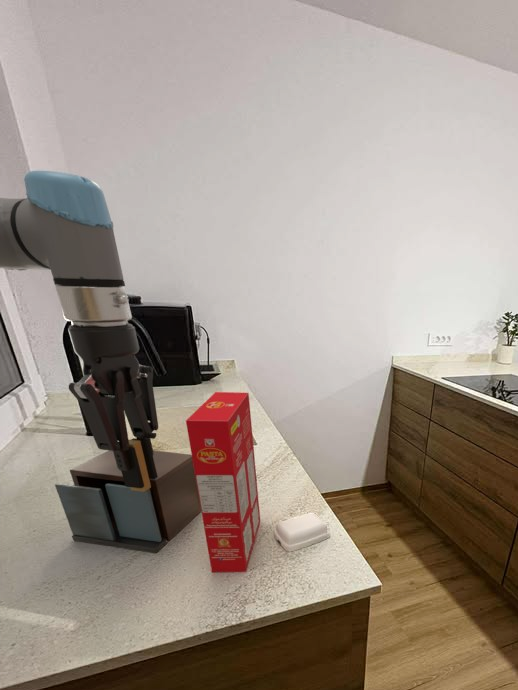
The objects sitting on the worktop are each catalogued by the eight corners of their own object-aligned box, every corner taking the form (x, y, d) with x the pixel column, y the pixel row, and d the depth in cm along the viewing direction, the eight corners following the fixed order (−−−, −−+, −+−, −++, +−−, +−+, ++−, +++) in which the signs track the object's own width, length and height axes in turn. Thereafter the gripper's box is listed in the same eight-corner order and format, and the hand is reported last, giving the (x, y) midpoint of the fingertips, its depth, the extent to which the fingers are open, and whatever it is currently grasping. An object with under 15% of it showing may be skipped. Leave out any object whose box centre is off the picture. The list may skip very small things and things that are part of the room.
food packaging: (232, 521, 74) (215, 392, 63) (260, 521, 75) (248, 392, 63) (211, 572, 61) (185, 420, 50) (245, 571, 61) (227, 421, 50)
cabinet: (73, 540, 67) (50, 478, 61) (131, 500, 80) (117, 446, 74) (156, 553, 65) (140, 490, 59) (203, 509, 77) (193, 454, 72)
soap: (287, 553, 66) (286, 539, 65) (271, 534, 71) (270, 520, 69) (332, 537, 71) (332, 523, 69) (314, 520, 76) (314, 507, 74)
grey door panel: (117, 537, 66) (88, 439, 58) (124, 532, 67) (96, 435, 59) (157, 544, 65) (133, 444, 57) (163, 538, 66) (140, 440, 58)
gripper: (77, 330, 43) (128, 509, 54) (164, 319, 57) (191, 464, 68) (20, 327, 44) (81, 503, 55) (118, 317, 58) (152, 459, 69)
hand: (141, 481), depth 61 cm, fingers open, 2 cm apart
